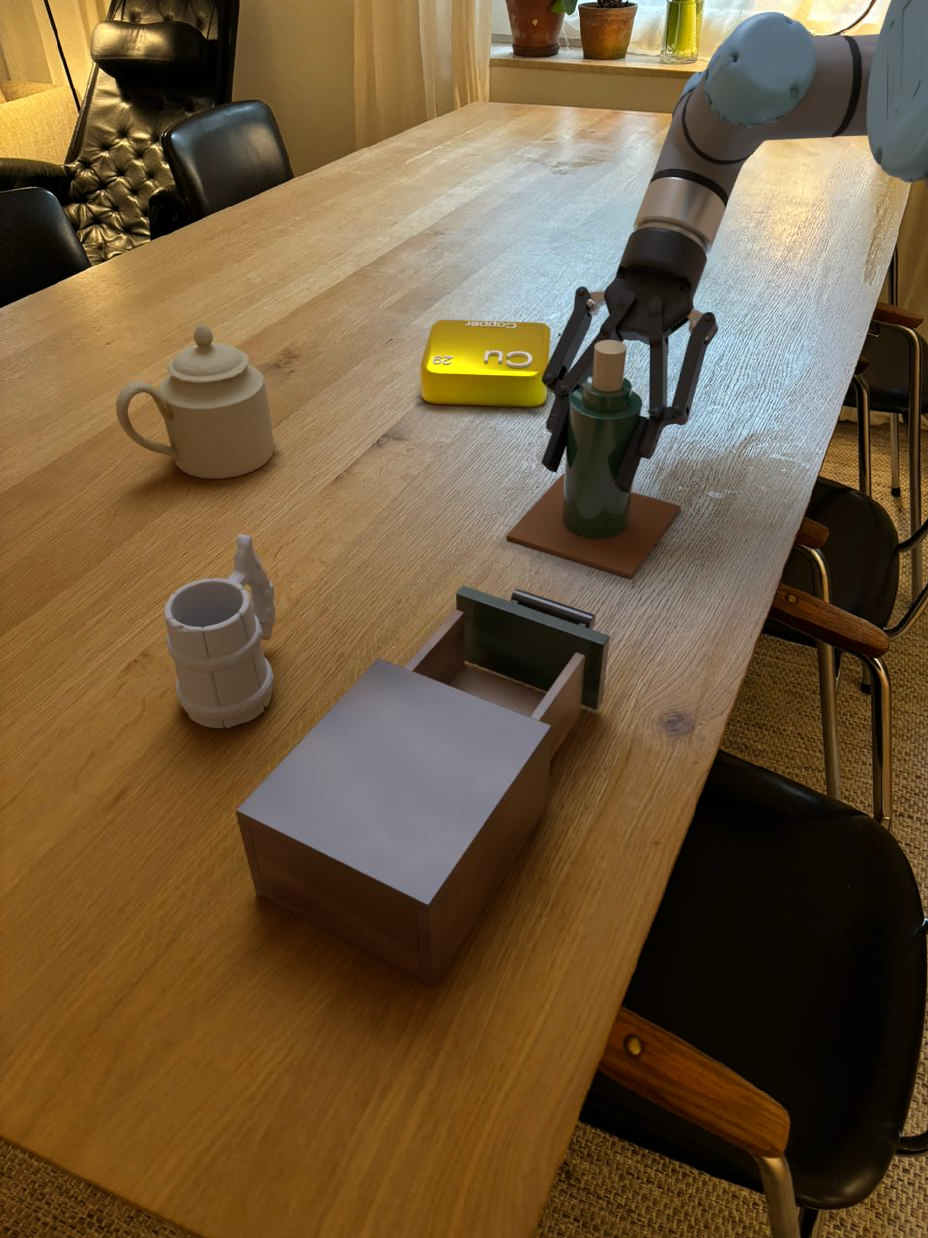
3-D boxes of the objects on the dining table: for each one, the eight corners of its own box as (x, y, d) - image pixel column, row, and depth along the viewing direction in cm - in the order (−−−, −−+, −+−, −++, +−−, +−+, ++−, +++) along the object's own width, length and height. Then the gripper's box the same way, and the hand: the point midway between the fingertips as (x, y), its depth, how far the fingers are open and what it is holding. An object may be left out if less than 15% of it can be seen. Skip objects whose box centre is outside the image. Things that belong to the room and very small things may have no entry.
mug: (161, 718, 79) (126, 600, 71) (238, 626, 87) (214, 512, 79) (244, 742, 76) (218, 624, 69) (316, 647, 85) (299, 531, 77)
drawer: (488, 621, 86) (488, 557, 81) (623, 669, 81) (632, 604, 76) (366, 765, 73) (359, 698, 69) (518, 832, 68) (520, 765, 64)
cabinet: (385, 741, 76) (377, 657, 71) (546, 810, 71) (552, 725, 65) (255, 895, 66) (234, 810, 60) (433, 989, 61) (428, 906, 55)
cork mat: (679, 509, 100) (680, 505, 100) (630, 578, 92) (631, 574, 91) (563, 476, 105) (563, 472, 105) (506, 539, 97) (506, 535, 96)
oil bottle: (641, 516, 98) (663, 343, 87) (604, 547, 95) (622, 370, 83) (586, 493, 102) (599, 324, 90) (548, 522, 98) (557, 349, 86)
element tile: (549, 353, 128) (551, 317, 125) (545, 409, 116) (547, 371, 113) (434, 349, 129) (433, 314, 126) (419, 404, 118) (417, 367, 115)
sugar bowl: (213, 508, 101) (184, 372, 92) (129, 483, 105) (93, 350, 95) (294, 441, 111) (276, 312, 102) (215, 420, 115) (190, 294, 106)
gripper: (777, 281, 91) (692, 516, 91) (583, 245, 99) (503, 462, 99) (771, 241, 84) (679, 495, 84) (562, 206, 92) (477, 439, 92)
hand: (584, 477), depth 91 cm, fingers closed on oil bottle, 7 cm apart
